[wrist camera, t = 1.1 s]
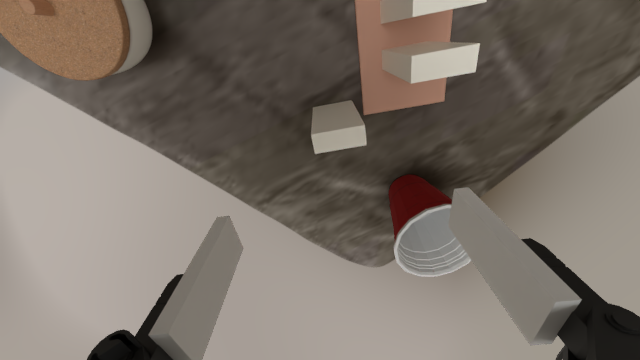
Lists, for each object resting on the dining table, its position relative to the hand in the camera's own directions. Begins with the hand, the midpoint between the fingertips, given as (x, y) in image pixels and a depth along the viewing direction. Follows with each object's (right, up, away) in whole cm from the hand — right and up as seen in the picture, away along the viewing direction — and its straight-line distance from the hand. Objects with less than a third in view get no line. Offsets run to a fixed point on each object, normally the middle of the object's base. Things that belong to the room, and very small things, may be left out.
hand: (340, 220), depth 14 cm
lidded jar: (-23, +20, +11) cm, 32 cm away
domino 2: (+8, +20, +10) cm, 24 cm away
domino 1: (0, +11, +17) cm, 20 cm away
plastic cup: (+13, +1, +23) cm, 26 cm away
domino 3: (+8, +17, +13) cm, 23 cm away
